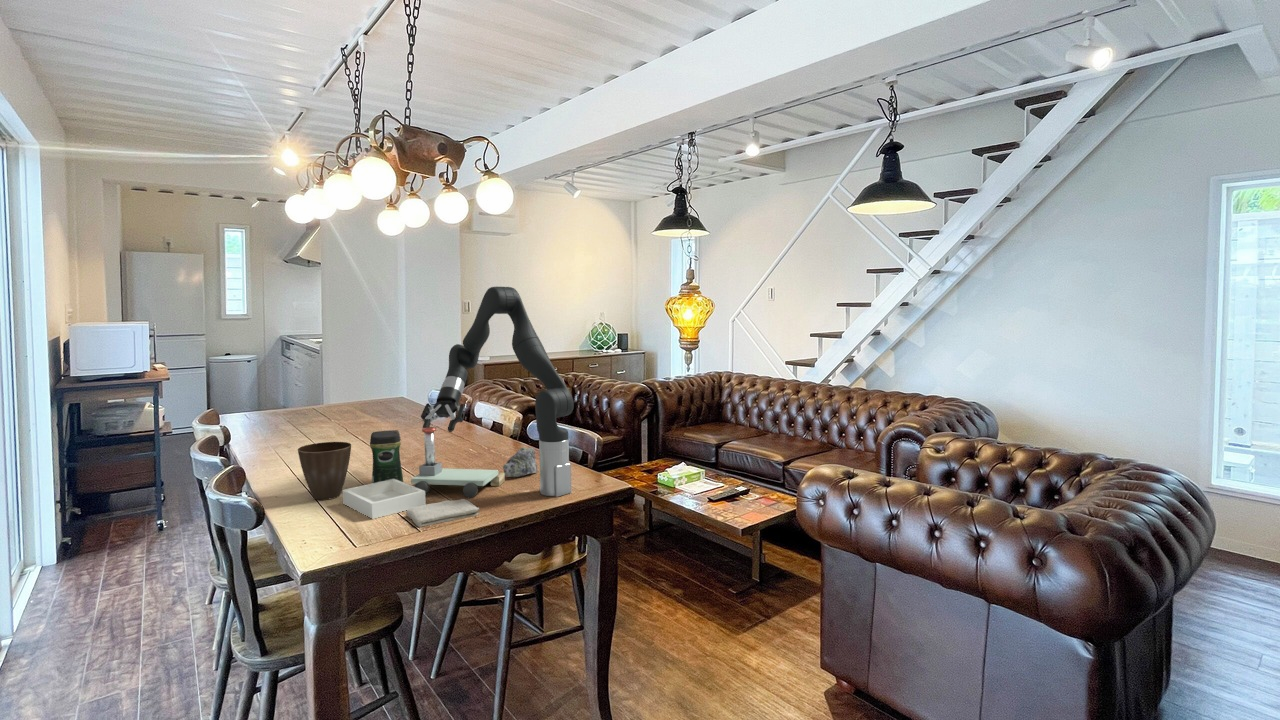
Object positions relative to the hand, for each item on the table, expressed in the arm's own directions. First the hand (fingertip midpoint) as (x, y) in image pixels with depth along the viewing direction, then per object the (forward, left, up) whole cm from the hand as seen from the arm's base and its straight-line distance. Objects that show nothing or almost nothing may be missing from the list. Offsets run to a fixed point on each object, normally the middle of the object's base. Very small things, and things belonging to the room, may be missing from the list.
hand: (437, 430), depth 205 cm
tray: (-8, +23, -18) cm, 30 cm away
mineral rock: (-12, -24, -18) cm, 33 cm away
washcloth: (-30, +16, -19) cm, 39 cm away
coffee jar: (+11, +13, -18) cm, 25 cm away
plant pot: (+14, +31, -18) cm, 38 cm away
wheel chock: (-15, -13, -18) cm, 27 cm away
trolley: (-10, 0, -18) cm, 21 cm away
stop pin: (-3, +5, -13) cm, 14 cm away
